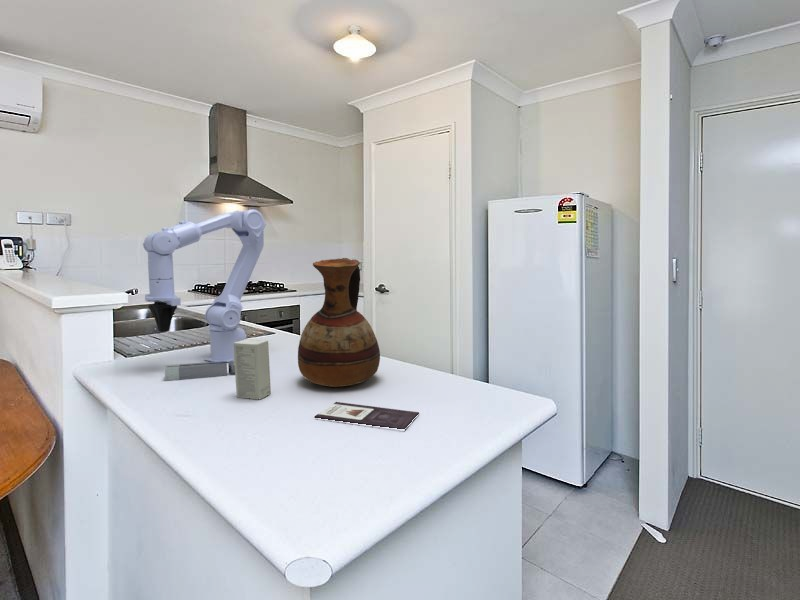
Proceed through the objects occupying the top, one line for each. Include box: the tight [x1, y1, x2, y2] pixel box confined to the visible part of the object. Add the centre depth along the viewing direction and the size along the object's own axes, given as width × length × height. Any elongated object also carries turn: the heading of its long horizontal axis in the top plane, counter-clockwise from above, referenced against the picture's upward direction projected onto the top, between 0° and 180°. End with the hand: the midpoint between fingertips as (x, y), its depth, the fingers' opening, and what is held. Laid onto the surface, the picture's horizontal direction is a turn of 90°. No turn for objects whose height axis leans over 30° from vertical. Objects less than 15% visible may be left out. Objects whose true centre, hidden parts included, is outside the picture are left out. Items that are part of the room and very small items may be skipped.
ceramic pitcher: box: [297, 257, 381, 388], centre depth 112 cm, size 20×20×30 cm
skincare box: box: [233, 338, 272, 400], centre depth 101 cm, size 6×4×12 cm
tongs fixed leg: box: [165, 360, 235, 376], centre depth 117 cm, size 18×3×3 cm, turn 110°
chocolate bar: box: [313, 401, 420, 429], centre depth 90 cm, size 9×1×18 cm
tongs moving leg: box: [164, 362, 228, 382], centre depth 116 cm, size 14×2×3 cm, turn 111°
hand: (164, 331), depth 121 cm, fingers closed
